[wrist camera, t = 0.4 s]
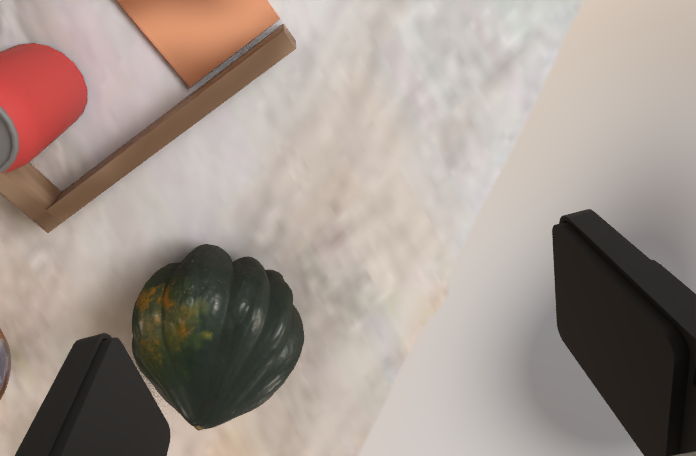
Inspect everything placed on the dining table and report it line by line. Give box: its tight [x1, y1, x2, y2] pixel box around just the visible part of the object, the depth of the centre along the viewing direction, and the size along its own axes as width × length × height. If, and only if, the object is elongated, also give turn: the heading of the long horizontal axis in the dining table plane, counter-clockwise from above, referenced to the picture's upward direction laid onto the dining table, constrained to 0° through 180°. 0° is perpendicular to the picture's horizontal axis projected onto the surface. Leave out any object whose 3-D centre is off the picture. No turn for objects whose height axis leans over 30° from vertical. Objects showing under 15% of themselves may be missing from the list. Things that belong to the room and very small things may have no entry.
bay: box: [0, 0, 296, 233], centre depth 39 cm, size 17×26×4 cm, turn 124°
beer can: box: [0, 43, 87, 173], centre depth 37 cm, size 7×7×12 cm
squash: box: [132, 244, 304, 430], centre depth 48 cm, size 14×15×15 cm
